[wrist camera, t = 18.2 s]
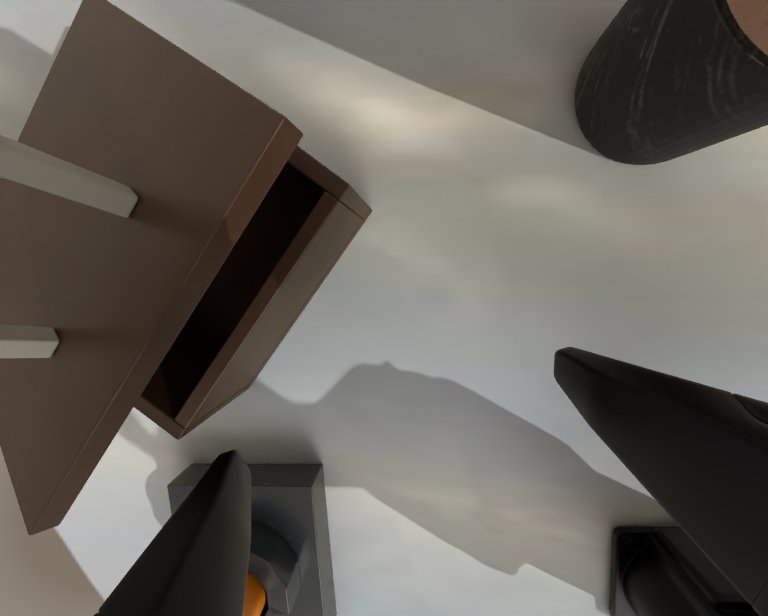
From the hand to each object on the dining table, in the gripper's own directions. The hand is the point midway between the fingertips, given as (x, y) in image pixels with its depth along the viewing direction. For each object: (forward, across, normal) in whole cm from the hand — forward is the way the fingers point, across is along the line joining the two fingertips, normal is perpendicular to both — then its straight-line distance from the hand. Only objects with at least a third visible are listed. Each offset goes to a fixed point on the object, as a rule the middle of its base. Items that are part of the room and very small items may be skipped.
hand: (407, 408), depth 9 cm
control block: (+8, +10, +16) cm, 20 cm away
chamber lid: (+6, +9, -6) cm, 12 cm away
